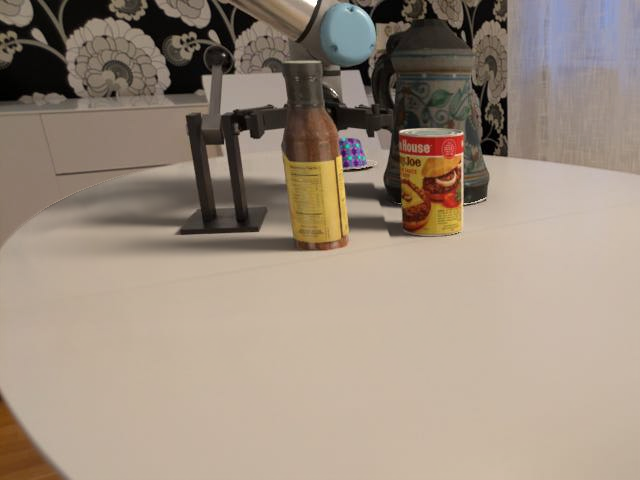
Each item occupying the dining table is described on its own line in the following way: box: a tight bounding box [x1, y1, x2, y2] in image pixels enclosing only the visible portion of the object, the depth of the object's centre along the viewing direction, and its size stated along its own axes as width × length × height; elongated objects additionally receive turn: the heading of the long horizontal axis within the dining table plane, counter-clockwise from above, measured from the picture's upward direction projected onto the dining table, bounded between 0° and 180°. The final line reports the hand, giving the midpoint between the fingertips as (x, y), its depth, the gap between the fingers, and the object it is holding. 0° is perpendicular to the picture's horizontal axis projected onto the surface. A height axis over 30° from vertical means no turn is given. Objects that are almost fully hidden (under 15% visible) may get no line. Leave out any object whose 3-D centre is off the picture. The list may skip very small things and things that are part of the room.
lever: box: [201, 44, 234, 146], centre depth 85 cm, size 17×4×4 cm
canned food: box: [399, 128, 464, 237], centre depth 84 cm, size 8×8×12 cm
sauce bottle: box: [280, 60, 350, 252], centre depth 73 cm, size 7×6×20 cm
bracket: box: [179, 111, 268, 236], centre depth 84 cm, size 12×9×14 cm
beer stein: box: [370, 18, 491, 204], centre depth 101 cm, size 16×19×25 cm
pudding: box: [339, 137, 378, 169], centre depth 131 cm, size 12×12×5 cm
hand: (313, 126), depth 79 cm, fingers open, 13 cm apart
